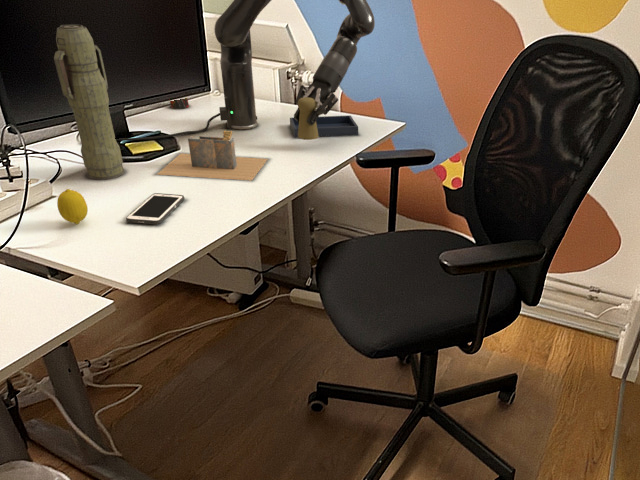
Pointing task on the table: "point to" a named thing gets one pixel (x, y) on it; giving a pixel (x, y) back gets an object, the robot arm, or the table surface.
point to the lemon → (72, 206)
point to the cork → (305, 110)
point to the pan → (330, 126)
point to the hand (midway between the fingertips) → (302, 121)
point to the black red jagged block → (179, 104)
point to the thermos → (88, 100)
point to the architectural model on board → (213, 160)
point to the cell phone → (155, 208)
